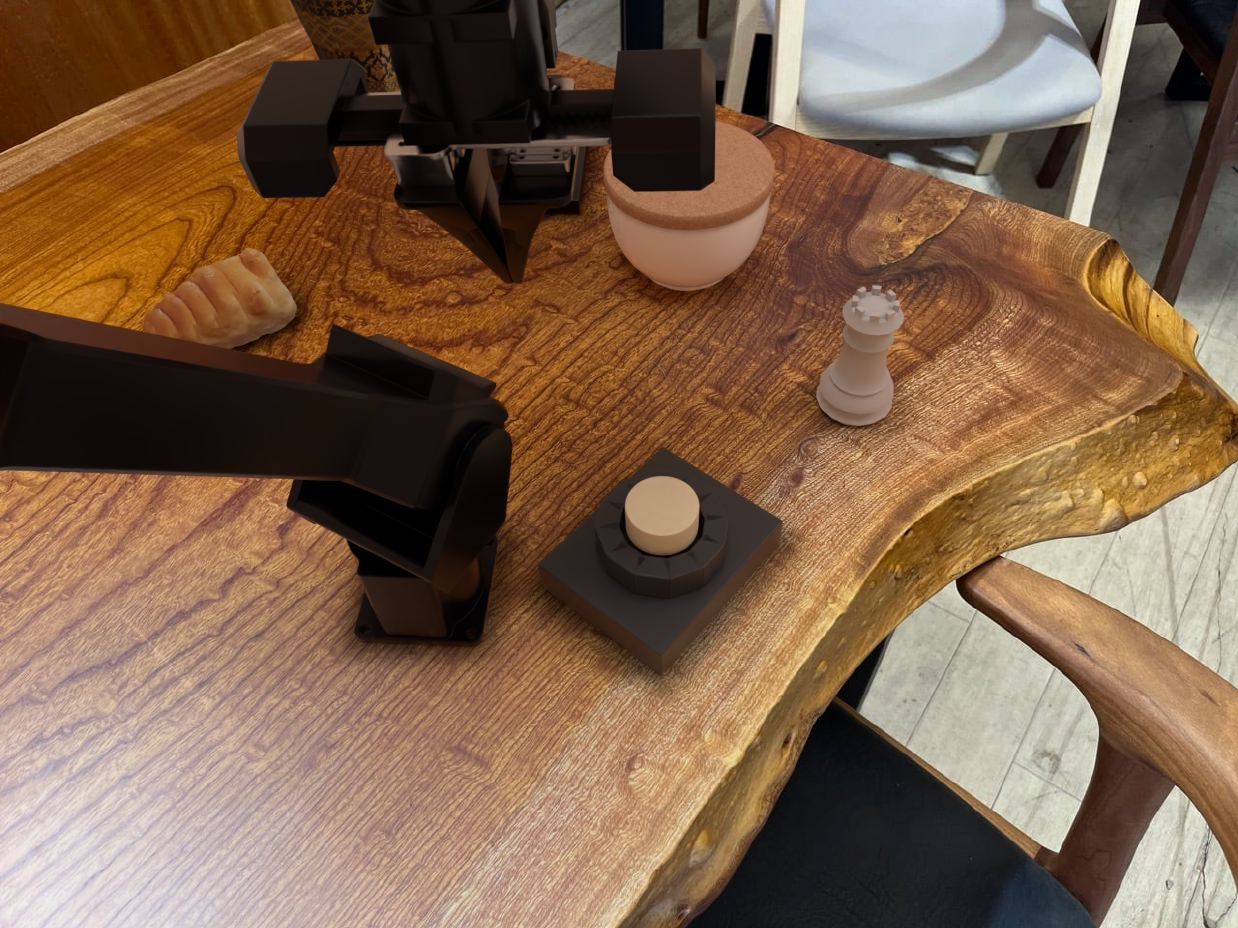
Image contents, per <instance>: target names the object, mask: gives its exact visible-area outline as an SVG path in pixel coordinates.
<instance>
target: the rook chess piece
mask: <svg viewBox="0 0 1238 928" xmlns="http://www.w3.org/2000/svg"><path fill="white" fill-rule="evenodd" d="M882 287H883V286H882V285H877V284H876V285H875V284H872V286H871V291H867V288H866V287H865V286H862V287H859V288H858V289H856V292H855V295H854V294H852V297H851V298H850V299H848V300H847V301H846V303H845V304H844V305H843V307H842V317H843V319H844V321H845V323H846V324H845V326H844V327H843V329H842V337H843V339H844V340H843V341H844V342H843V345H842V348H841V349H840V351H839V355H838V357H836V358H835V359H834V360H833V362H832V363H830V364H829V365H828V366H827V367H826V368H825V370H823V372H822V374H821V376H820V378H819V384H818V386H817V388H816V400H817V402H818V405H819V407H820V409H821V410H822V411H823V412H824V413H825V414H826V415H827V416H828V417H829V418H831V419H832V420H833V421H835V422H837V423H840V424H842V425H844V426H853V427H862V426H867V425H868V426H869V425H872V424H875V423H877V422H879V421H881V420H882V419H884V418H886V417H887V415H888V414H889V412H890V410H891V409H892V408H893V407H892V406H893V398H894V393H895V392H894V390H895V386H894V381H893V379H892V377H891V374H890V370H889V369H888V367H887V357H888V350H889V348H891V346H892V345H893V343H894V342H895V333H894V332H896V331H897V330H899V329H900V327H901V326H902V324H903V323H904V318H905V317H904V315H905V314H904V312H903V310H902V308H901V300H898V299H897V295H898V294H897V293H896V292H895V291H893V289H888V291H886V294H885V293H882Z"/></svg>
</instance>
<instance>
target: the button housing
mask: <svg viewBox="0 0 1238 928" xmlns="http://www.w3.org/2000/svg"><path fill="white" fill-rule="evenodd" d="M657 476H668V477H673V478H676V479H679V480H681V481H683V482H685V483H686V484H688V485H689V486H690V487H691V488H692V489H693V490H694V492H695V493H696V495H697V497H698V500H699V523H698V532H697V535H696V537H695V539H694V541H693V542H692V543H691V544H690V545H689V546H688V547H687V548H685V549H684V550H682V551H680V552H678V553H675V554H672V555H663V556H660V555H653V554H649V553H646V552H644V551H642V550H640V549H639V548H638V547H636V546H635V545H634V544H633V543H632V541H631V540H630V539H629V537H628V534H627V531H626V520H625V501H626V498H627V495H628V493H629V492H630V490H631V489H632V488H633V487H634V486H635V485H636V484H638V483H639V482H641V481H643V480H645V479H648V478H651V477H657ZM783 523H784V521H783V520H782V519H781V518H779V517H778V516H775V515H774V514H772V513H771V512H769V511H768V510H766V509H765V508H763V507H761V506H760V505H757V504H756V503H755V502H753V501H751V500H749V498H746V497H745V496H743V495H741V494H740V493H739V492H737V491H735V490H733V489H732V488H730V487H729V486H727V485H726V484H724V483H722V482H721V481H719V480H717V479H716V478H714V477H713V476H711V475H709V474H708V473H706V472H704V470H701V469H700V468H698V467H696V466H695V465H693V464H692V463H690V462H689V461H687V460H685V459H683V458H681V457H680V456H679V455H677V454H676V453H674V452H672V451H670V450H669V449H667V448H666V447H664V446H661V447H660V449H659V450H657V451H656V452H655V453H654V454H653V455H652V456H651V457H650V458H649V459H648V460H647V461H645V463H644V464H642V466H641V467H639V468H638V469H637V470H636V471H635V472H634V473H633V474H632V475H631V476H629V477H626V478H624V479H622V480H621V481H620V482H619V483H618V484H617V485H615V486H614V487H613V488H612V489H611V490H610V491H609V492H608V493H607V494H606V495H605V496H604V497H603V498H602V499H601V500H600V503H599V506H598V507H597V508H596V509H595V510H594V511H593V512H592V513H591V514H590V515H589V516H588V517H587V518H585V519H584V520H583V522H581V523H580V524H579V525H578V526H577V527H576V528H575V529H573V530H572V532H571V533H570V534H569V535H567V536H566V538H565V539H563V540H562V541H561V542H560V543H559V544H558V545H557V546H556V547H555V548H554V549H553V550H552V551H550V553H549V554H547V556H545V558H544V559H542V560H541V561H540V562H539V563H538V564H537V566H538V571H539V572H538V573H539V577H540V584H541V587H542V588H543V590H545V591H547V592H548V593H550V594H551V595H552V596H553V597H555V598H556V599H557V600H559V601H560V602H562V604H564V605H565V606H567V607H568V608H570V609H571V610H572V611H573V612H575V613H576V614H577V615H579V616H580V617H582V618H583V619H584V620H585V621H587V622H588V623H589V624H591V625H592V626H594V628H596V629H597V630H598V631H600V632H601V633H603V634H604V635H606V637H608V638H609V639H611V640H612V641H614V642H615V643H616V644H617V645H619V646H620V647H621V648H623V649H624V650H625V651H627V653H629V654H631V655H632V656H634V657H635V658H636V659H637V660H638V661H640V662H641V663H643V664H644V665H645V666H647V667H648V668H649V669H650V670H652V671H653V672H655V673H656V674H657V675H658V676H664V674H665V673H666V672H667V671H668V670H669V669H670V667H671V666H672V665H673V664H674V662H676V661H677V660H678V658H680V656H682V654H683V652H684V651H685V650H686V649H687V648H689V646H690V645H691V644H692V642H694V640H695V639H697V637H698V636H699V635H700V634H701V633H702V631H703V630H704V629H705V628H706V627H707V626H708V625H709V624H710V622H711V621H712V620H713V619H714V618H715V617H716V616H717V615H718V614H719V612H721V610H722V609H723V608H724V606H726V604H727V603H728V602H729V601H730V600H731V599H732V598H733V596H735V594H737V592H738V591H739V590H740V589H741V588H742V586H743V585H744V584H745V583H746V582H747V581H748V580H749V579H750V578H751V576H752V575H753V574H754V573H755V572H756V571H757V570H758V568H759V567H760V566H762V564H763V563H764V562H765V561H766V560H767V559H768V558H769V556H770V555H771V554H772V553H773V552H774V551H775V549H776V548H777V547H778V546H779V545H780V541H781V535H782V528H783Z"/></svg>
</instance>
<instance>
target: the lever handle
mask: <svg viewBox="0 0 1238 928" xmlns="http://www.w3.org/2000/svg"><path fill="white" fill-rule="evenodd" d="M487 155H488V162H489V167H490V171H491V174H492V177H493V180H494V182H501V181H502V178H503V173H504V168H505V163H506V158H507V156H504V151H503V148H494V149H487Z"/></svg>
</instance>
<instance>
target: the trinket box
mask: <svg viewBox="0 0 1238 928" xmlns="http://www.w3.org/2000/svg"><path fill="white" fill-rule="evenodd" d="M602 168H603V185H604V189H605V193H606V204H607V213H608V217H609V223H610V226H611V230H612V233H613V236H614V238H615V242H616V244H617V245H618V247H619V249H620V250H621V252H622V254H623V256H624V257H625V258H626V259H627V260H628V262H629V263H630V264H631V265H632V266H633V267H634V268H635V269H636V270H638V271H639V272H640V273H641V274H643V275H644V276H646V277H648V279H650V280H651V281H652V282H653V283H655V284H657V285H659V286H661V287H664V288H665V289H669V290H674V291H682V292H688V291H690V292H691V291H700V290H704V289H707V288H710V287H712V286H714V285H716V284H718V283H719V282H721V281H723V280H724V279H725V278H726V277H728V276H730V275H731V274H733V273H734V272H735V271H736V270H737V269H740V268H741V266H742V265H743V264H744V263H745V262H746V261H747V260H748V258H749V257H750V256H751V254H752V253H753V251H754V250H755V248H756V247H757V245H758V243H759V241H760V239H761V236H762V235H763V231H764V229H765V228H764V227H765V225H766V221H767V218H768V213H769V208H770V202H771V193H772V190H773V186H774V182H775V173H776V172H775V171H776V166H775V161H774V158H773V156H772V153H771V152H770V151H769V149H768V147H767V146H766V145H765V144H764V143H763V142H762V141H761V140H760V139H758V138H757V137H756V136H755V135H754V134H752V133H751V132H749V131H747V130H745V129H743V128H741V127H738V126H736V125H732V124H730V123H727V122H724V121H723V122H722V121H718V120H716V131H715V181H714V182H713V183H711V184H710V185H708V186H707V187H705V188H704V189H702V190H701V191H659V192H634V191H633V190H631V189H630V188H629V187H627V186H626V185H625V184H623V183H622V182H621V181H619V180H618V179H617V178H615V177H614V176H613V167H612V156H611V149H610V150H609V151H608V153H607V155H606V157H605V159H604V162H603V167H602Z"/></svg>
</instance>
